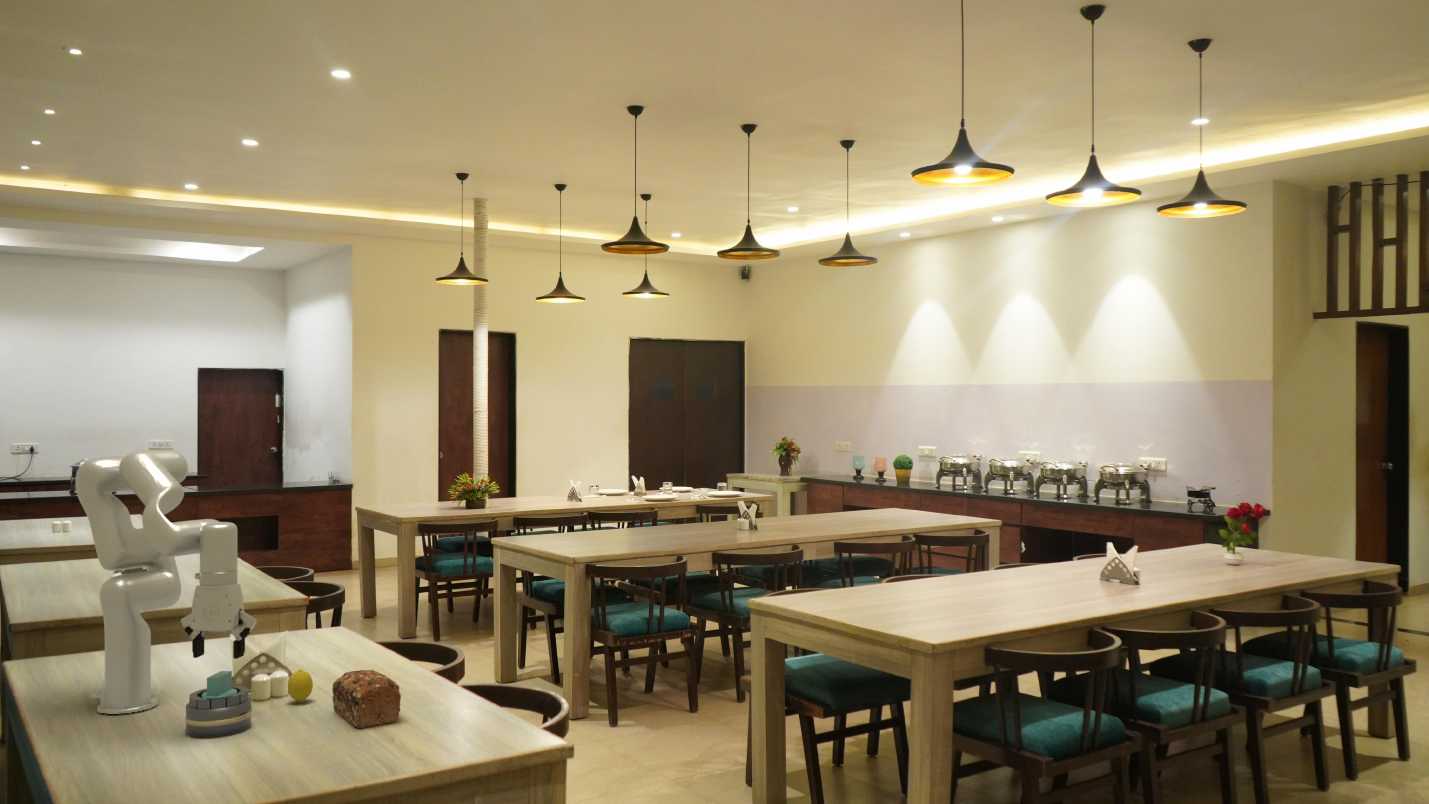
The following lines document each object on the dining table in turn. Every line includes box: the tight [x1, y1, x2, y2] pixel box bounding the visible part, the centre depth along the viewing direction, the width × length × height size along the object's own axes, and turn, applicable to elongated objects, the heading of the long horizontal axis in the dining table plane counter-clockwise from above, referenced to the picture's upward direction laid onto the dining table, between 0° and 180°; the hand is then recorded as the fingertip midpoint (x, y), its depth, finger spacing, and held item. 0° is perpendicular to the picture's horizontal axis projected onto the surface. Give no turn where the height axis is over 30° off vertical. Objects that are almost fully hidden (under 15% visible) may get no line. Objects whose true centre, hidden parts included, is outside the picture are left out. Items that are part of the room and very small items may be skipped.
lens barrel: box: [185, 685, 253, 739], centre depth 227 cm, size 13×13×8 cm
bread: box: [331, 669, 402, 729], centre depth 235 cm, size 19×11×10 cm, turn 35°
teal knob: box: [202, 670, 237, 698], centre depth 227 cm, size 7×7×6 cm
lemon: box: [287, 668, 314, 704], centre depth 247 cm, size 6×6×8 cm
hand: (218, 656), depth 227 cm, fingers open, 8 cm apart
